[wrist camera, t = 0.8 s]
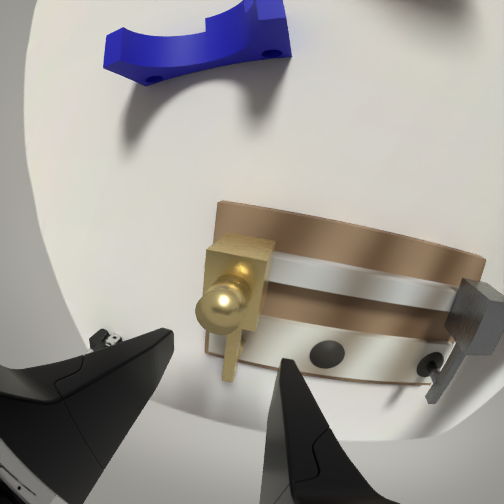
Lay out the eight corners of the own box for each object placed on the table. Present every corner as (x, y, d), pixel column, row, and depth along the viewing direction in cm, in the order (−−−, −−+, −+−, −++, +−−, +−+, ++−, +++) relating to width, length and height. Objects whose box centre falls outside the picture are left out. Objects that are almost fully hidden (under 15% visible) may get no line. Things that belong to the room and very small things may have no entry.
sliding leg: (277, 237, 17) (259, 279, 10) (254, 362, 20) (232, 432, 14) (232, 229, 18) (186, 264, 11) (218, 353, 21) (185, 418, 14)
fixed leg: (481, 278, 15) (514, 304, 11) (434, 380, 18) (450, 416, 14) (456, 273, 16) (490, 300, 11) (409, 380, 19) (423, 418, 14)
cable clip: (284, 15, 15) (276, -29, 9) (291, 57, 16) (286, 17, 10) (147, 46, 17) (108, 21, 11) (147, 86, 18) (103, 68, 13)
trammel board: (479, 255, 17) (496, 265, 14) (426, 377, 20) (434, 395, 18) (222, 200, 20) (210, 204, 17) (208, 345, 23) (198, 363, 21)
